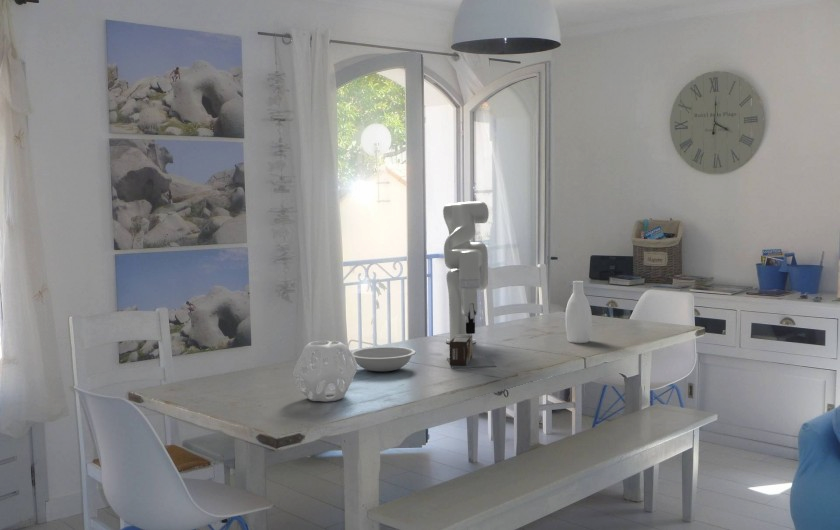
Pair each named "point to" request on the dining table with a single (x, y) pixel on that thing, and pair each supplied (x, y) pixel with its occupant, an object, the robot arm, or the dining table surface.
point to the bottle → (578, 315)
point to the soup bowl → (382, 358)
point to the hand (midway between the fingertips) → (470, 333)
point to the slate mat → (477, 363)
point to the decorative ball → (325, 370)
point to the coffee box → (461, 350)
